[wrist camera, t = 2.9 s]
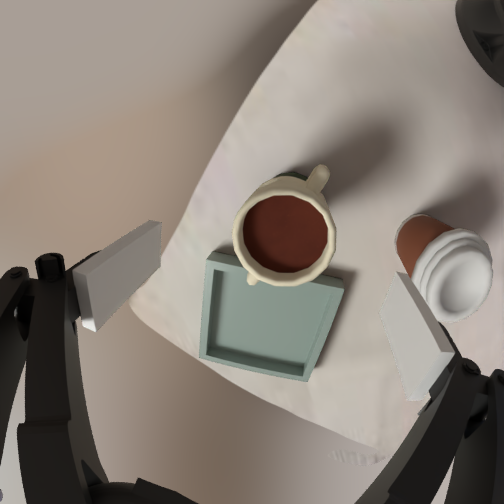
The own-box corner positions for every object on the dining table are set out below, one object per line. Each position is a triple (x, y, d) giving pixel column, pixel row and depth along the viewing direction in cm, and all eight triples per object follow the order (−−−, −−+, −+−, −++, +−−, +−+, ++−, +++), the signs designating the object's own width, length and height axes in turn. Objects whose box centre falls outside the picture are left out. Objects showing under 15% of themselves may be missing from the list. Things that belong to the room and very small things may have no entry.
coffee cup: (439, 190, 27) (497, 220, 16) (455, 257, 29) (502, 306, 18) (373, 220, 30) (408, 266, 19) (395, 285, 32) (426, 347, 21)
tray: (212, 251, 34) (206, 259, 32) (342, 279, 33) (344, 289, 31) (204, 347, 41) (199, 357, 39) (307, 370, 39) (307, 382, 37)
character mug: (289, 140, 28) (280, 139, 16) (345, 176, 28) (375, 203, 17) (239, 222, 32) (201, 273, 21) (291, 255, 33) (284, 321, 21)
